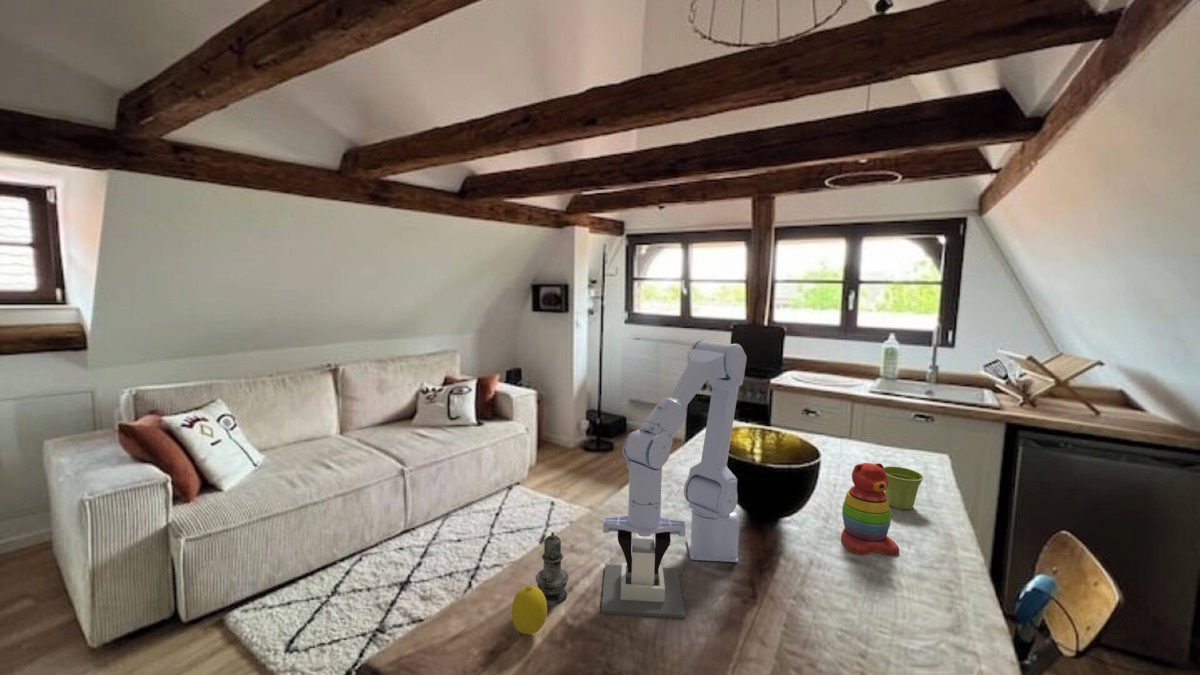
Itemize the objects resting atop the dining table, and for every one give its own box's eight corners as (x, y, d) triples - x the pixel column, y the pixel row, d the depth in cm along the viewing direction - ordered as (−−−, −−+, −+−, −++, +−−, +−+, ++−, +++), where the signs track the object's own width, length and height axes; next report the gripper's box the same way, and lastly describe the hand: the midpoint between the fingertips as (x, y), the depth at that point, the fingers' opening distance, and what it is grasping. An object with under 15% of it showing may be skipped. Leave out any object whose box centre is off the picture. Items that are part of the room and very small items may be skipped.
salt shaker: (563, 608, 86) (564, 541, 85) (530, 603, 87) (531, 537, 86) (572, 588, 92) (573, 525, 91) (541, 584, 93) (541, 522, 92)
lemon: (513, 623, 82) (513, 576, 81) (547, 621, 83) (547, 575, 82) (509, 647, 77) (510, 597, 76) (546, 645, 77) (547, 596, 76)
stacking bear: (852, 555, 105) (858, 472, 103) (829, 531, 115) (834, 456, 113) (903, 555, 105) (910, 473, 104) (876, 532, 115) (882, 456, 114)
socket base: (677, 571, 98) (678, 556, 98) (684, 618, 84) (685, 601, 84) (605, 567, 99) (605, 552, 99) (601, 613, 85) (601, 596, 85)
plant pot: (921, 503, 132) (923, 471, 131) (920, 516, 124) (923, 482, 123) (880, 494, 136) (882, 463, 136) (877, 507, 129) (880, 474, 128)
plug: (653, 575, 93) (654, 539, 93) (653, 588, 89) (655, 550, 89) (631, 574, 94) (632, 538, 93) (631, 586, 90) (632, 549, 89)
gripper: (602, 506, 86) (601, 581, 88) (688, 510, 85) (685, 585, 87) (605, 489, 93) (603, 559, 95) (684, 493, 92) (681, 563, 94)
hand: (642, 570), depth 91 cm, fingers closed on plug, 4 cm apart
